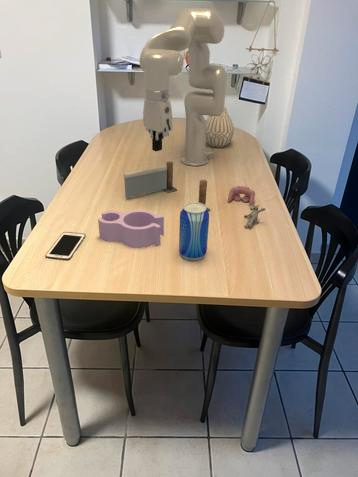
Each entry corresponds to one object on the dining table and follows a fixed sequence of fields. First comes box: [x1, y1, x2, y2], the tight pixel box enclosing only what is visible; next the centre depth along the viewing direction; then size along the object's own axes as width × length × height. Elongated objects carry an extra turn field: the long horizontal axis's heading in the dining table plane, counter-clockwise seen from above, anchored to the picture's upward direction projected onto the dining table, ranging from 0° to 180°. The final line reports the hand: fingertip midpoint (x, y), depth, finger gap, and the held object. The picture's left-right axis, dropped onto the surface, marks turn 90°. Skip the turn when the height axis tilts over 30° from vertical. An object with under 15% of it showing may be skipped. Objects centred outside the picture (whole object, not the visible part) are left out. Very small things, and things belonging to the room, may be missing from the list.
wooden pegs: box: [162, 161, 211, 213], centre depth 148 cm, size 25×4×12 cm, turn 35°
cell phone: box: [45, 231, 86, 261], centre depth 122 cm, size 8×15×1 cm, turn 172°
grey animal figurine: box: [244, 204, 266, 229], centre depth 135 cm, size 10×6×9 cm
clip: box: [97, 209, 165, 249], centre depth 126 cm, size 20×12×7 cm, turn 83°
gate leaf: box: [123, 164, 167, 199], centre depth 151 cm, size 17×2×9 cm, turn 122°
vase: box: [205, 105, 235, 148], centre depth 202 cm, size 16×16×20 cm
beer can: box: [178, 201, 210, 261], centre depth 115 cm, size 8×8×16 cm
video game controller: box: [227, 185, 256, 207], centre depth 150 cm, size 10×5×7 cm, turn 72°
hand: (157, 149), depth 137 cm, fingers closed
